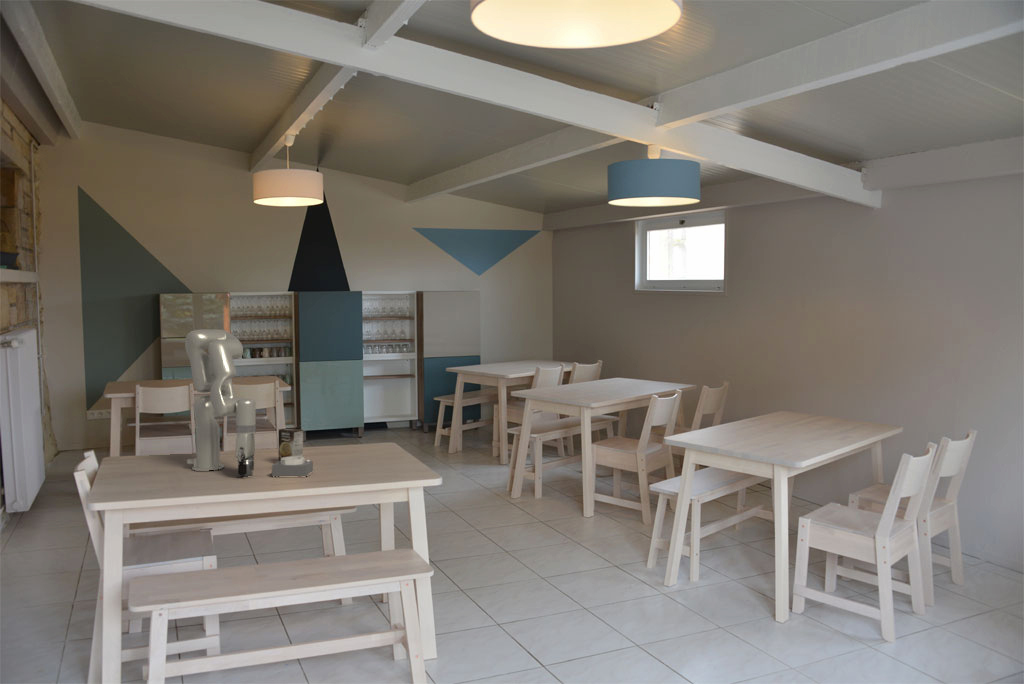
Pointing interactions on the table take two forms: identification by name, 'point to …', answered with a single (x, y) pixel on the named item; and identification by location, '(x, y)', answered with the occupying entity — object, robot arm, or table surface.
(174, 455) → the table surface
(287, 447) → the coffee box
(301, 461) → the camera body
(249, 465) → the lens
